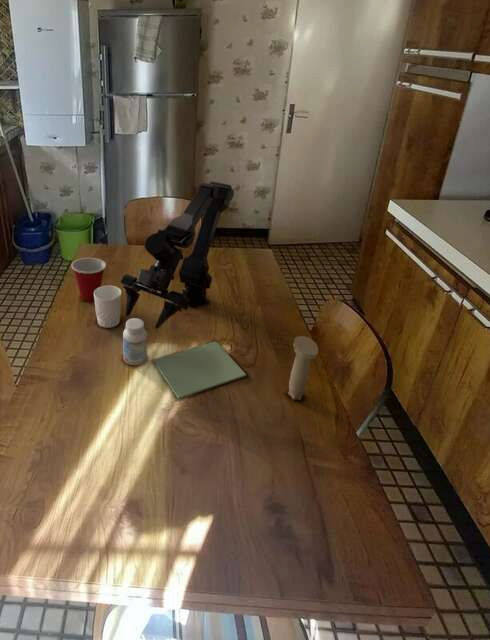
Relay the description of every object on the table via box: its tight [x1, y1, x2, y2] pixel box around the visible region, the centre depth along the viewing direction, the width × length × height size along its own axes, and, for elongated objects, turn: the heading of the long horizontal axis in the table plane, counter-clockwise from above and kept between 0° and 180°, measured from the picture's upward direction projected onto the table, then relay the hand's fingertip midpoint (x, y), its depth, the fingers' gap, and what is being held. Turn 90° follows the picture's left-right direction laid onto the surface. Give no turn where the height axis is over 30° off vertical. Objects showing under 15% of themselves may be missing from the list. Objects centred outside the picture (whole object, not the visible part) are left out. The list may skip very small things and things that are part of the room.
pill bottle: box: [122, 317, 148, 366], centre depth 112 cm, size 6×6×11 cm
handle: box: [288, 335, 319, 401], centre depth 100 cm, size 5×6×15 cm
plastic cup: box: [70, 257, 107, 302], centre depth 138 cm, size 11×11×12 cm
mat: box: [153, 341, 247, 400], centre depth 111 cm, size 19×14×1 cm
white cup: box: [94, 284, 122, 329], centre depth 126 cm, size 8×8×10 cm
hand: (141, 322), depth 112 cm, fingers open, 9 cm apart
